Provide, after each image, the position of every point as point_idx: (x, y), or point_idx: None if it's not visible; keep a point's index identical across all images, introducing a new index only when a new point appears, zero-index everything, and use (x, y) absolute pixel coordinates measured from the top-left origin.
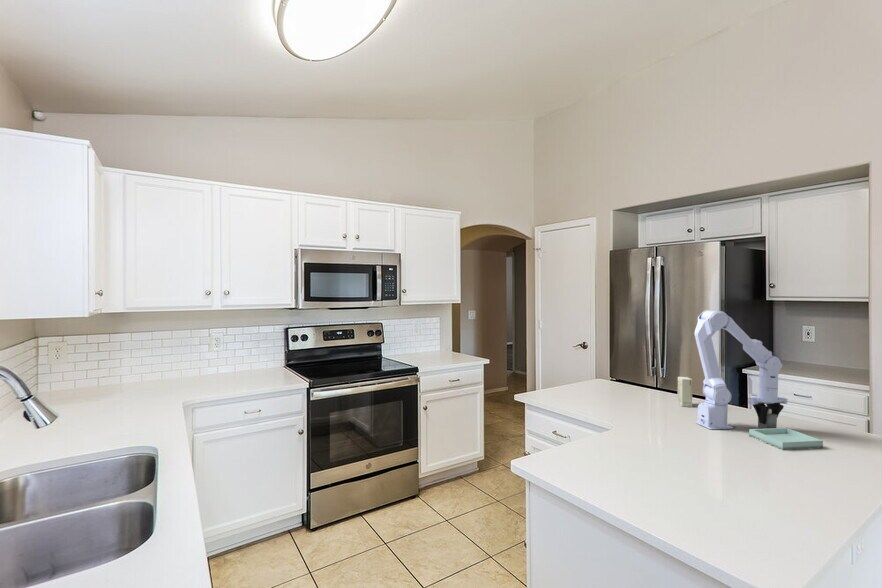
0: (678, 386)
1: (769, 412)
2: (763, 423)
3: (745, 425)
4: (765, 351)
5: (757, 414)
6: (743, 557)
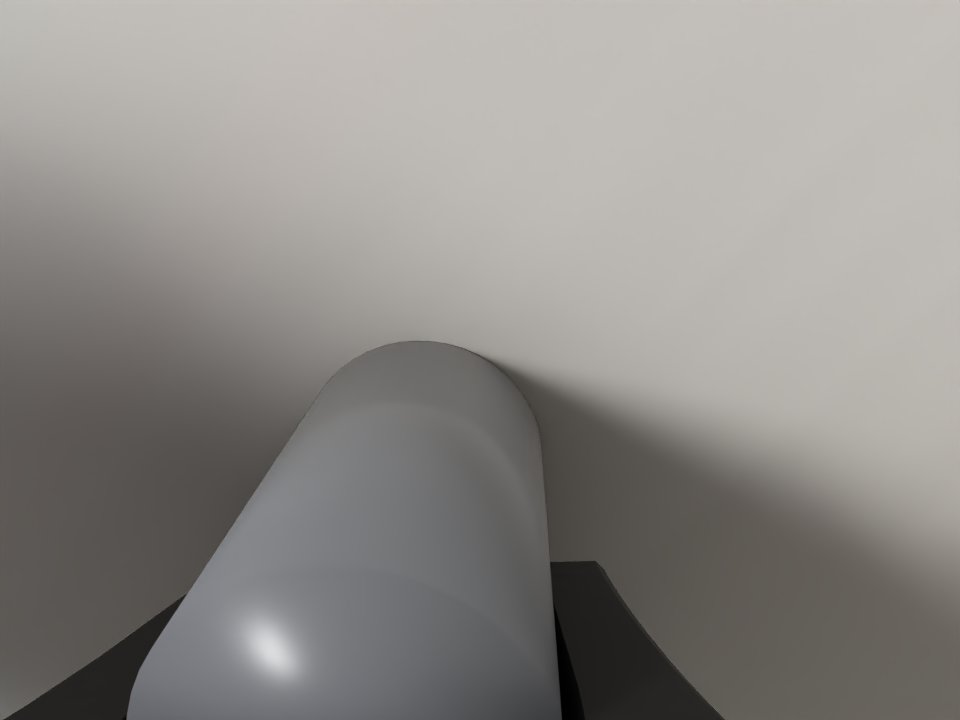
0: None
1: None
2: None
3: (64, 265)
4: None
5: (53, 705)
6: None
